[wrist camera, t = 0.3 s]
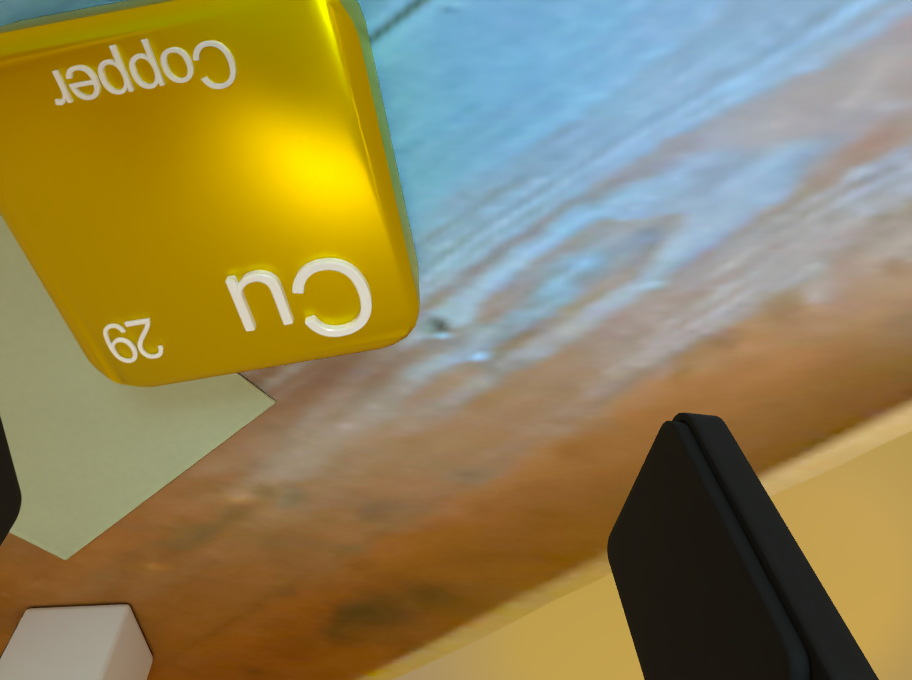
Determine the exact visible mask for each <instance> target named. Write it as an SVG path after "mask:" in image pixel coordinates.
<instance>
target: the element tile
mask: <svg viewBox="0 0 912 680" xmlns="http://www.w3.org/2000/svg"><path fill="white" fill-rule="evenodd" d="M0 215H1V216H2V218H3V219H4V221H5V223H6V224H7V226H8V228H9V229H10V231H11V233H12V234H13V236H14V238H15V239H16V241H17V243H18V244H19V246H20V248H21V249H22V251H23V253H24V254H25V256H26V258H27V259H28V261H29V263H30V264H31V266H32V268H33V269H34V271H35V273H36V274H37V276H38V278H39V279H40V281H41V283H42V284H43V286H44V288H45V289H46V291H47V293H48V294H49V296H50V298H51V299H52V301H53V303H54V304H55V306H56V308H57V309H58V311H59V313H60V314H61V316H62V318H63V319H64V321H65V323H66V324H67V326H68V328H69V329H70V331H71V333H72V334H73V336H74V337H75V339H76V341H77V342H78V344H79V346H80V347H81V349H82V351H83V352H84V354H85V356H86V357H87V359H88V361H89V362H90V363H91V364H92V365H93V366H94V367H95V368H96V369H97V370H98V371H100V372H101V373H102V374H103V375H105V376H106V377H107V378H108V379H111V380H112V381H113V382H115V383H119V384H122V385H127V386H134V387H157V386H162V385H168V384H174V383H180V382H186V381H192V380H198V379H204V378H210V377H216V376H222V375H228V374H233V373H239V372H245V371H251V370H257V369H263V368H269V367H275V366H281V365H287V364H293V363H298V362H304V361H310V360H316V359H322V358H328V357H334V356H340V355H346V354H352V353H358V352H364V351H369V350H375V349H380V348H384V347H387V346H390V345H393V344H395V343H397V342H399V341H400V340H402V339H404V338H406V337H407V336H408V334H409V333H410V332H411V331H412V329H413V328H414V327H415V325H416V322H417V318H418V314H419V307H420V298H419V274H418V262H417V257H416V253H415V248H414V244H413V239H412V234H411V230H410V225H409V220H408V216H407V211H406V207H405V202H404V197H403V193H402V188H401V183H400V179H399V174H398V169H397V165H396V160H395V156H394V151H393V146H392V142H391V137H390V132H389V128H388V123H387V119H386V114H385V109H384V105H383V100H382V95H381V91H380V86H379V82H378V77H377V72H376V68H375V63H374V58H373V54H372V49H371V45H370V40H369V35H368V31H367V26H366V21H365V19H364V16H363V13H362V11H361V8H360V5H359V4H358V2H357V1H356V0H126V1H121V2H116V3H110V4H105V5H100V6H95V7H89V8H84V9H79V10H74V11H68V12H63V13H58V14H53V15H47V16H42V17H37V18H31V19H26V20H21V21H16V22H13V23H10V24H7V25H4V26H1V27H0Z"/></svg>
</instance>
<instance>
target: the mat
mask: <svg viewBox="0 0 912 680" xmlns="http://www.w3.org/2000/svg"><path fill="white" fill-rule="evenodd" d="M275 403H276V401H275V400H273V399H272V398H271V397H269V396H268V395H267V394H265V393H264V392H263V391H261V390H260V389H259V388H257V387H256V386H255V385H253V384H252V383H251V382H249V381H248V380H247V379H245V378H244V377H243V376H241V375H240V374H239V373H233V374H228V375H222V376H216V377H210V378H204V379H198V380H192V381H186V382H180V383H174V384H168V385H162V386H157V387H134V386H127V385H122V384H119V383H115V382H113V381H112V380H111V379H108V378H107V377H106V376H105V375H103V374H102V373H101V372H100V371H98V370H97V369H96V368H95V367H94V366H93V365H92V364H91V363H90V362H89V361H88V359H87V357H86V356H85V354H84V352H83V351H82V349H81V347H80V346H79V344H78V342H77V341H76V339H75V337H74V336H73V334H72V333H71V331H70V329H69V328H68V326H67V324H66V323H65V321H64V319H63V318H62V316H61V314H60V313H59V311H58V309H57V308H56V306H55V304H54V303H53V301H52V299H51V298H50V296H49V294H48V293H47V291H46V289H45V288H44V286H43V284H42V283H41V281H40V279H39V278H38V276H37V274H36V273H35V271H34V269H33V268H32V266H31V264H30V263H29V261H28V259H27V258H26V256H25V254H24V253H23V251H22V249H21V248H20V246H19V244H18V243H17V241H16V239H15V238H14V236H13V234H12V233H11V231H10V229H9V228H8V226H7V224H6V223H5V221H4V219H3V218H2V216H1V215H0V417H1V420H2V424H3V428H4V431H5V435H6V439H7V442H8V446H9V450H10V453H11V457H12V461H13V464H14V468H15V472H16V475H17V479H18V483H19V487H20V490H21V496H22V501H21V508H20V512H19V514H18V517H17V519H16V521H15V523H14V524H13V526H12V528H11V529H10V531H9V532H10V533H12V534H14V535H16V536H18V537H20V538H22V539H24V540H26V541H28V542H30V543H32V544H34V545H36V546H38V547H40V548H42V549H44V550H46V551H48V552H50V553H52V554H54V555H56V556H58V557H60V558H62V559H64V560H67V559H68V558H69V557H71V556H72V555H73V554H75V553H76V552H77V551H79V550H80V549H81V548H83V547H84V546H85V545H87V544H88V543H89V542H91V541H92V540H93V539H95V538H96V537H97V536H99V535H100V534H101V533H103V532H104V531H105V530H107V529H108V528H109V527H111V526H112V525H113V524H115V523H116V522H117V521H119V520H120V519H121V518H123V517H124V516H125V515H127V514H128V513H129V512H131V511H132V510H133V509H135V508H136V507H137V506H139V505H140V504H141V503H143V502H144V501H145V500H147V499H148V498H149V497H151V496H152V495H153V494H155V493H156V492H157V491H159V490H160V489H161V488H163V487H164V486H165V485H167V484H168V483H169V482H171V481H172V480H173V479H175V478H176V477H177V476H179V475H180V474H181V473H183V472H184V471H185V470H187V469H188V468H189V467H191V466H192V465H193V464H195V463H196V462H197V461H199V460H200V459H201V458H203V457H204V456H205V455H207V454H208V453H209V452H211V451H212V450H213V449H215V448H216V447H217V446H219V445H220V444H221V443H223V442H224V441H225V440H227V439H228V438H229V437H231V436H232V435H233V434H235V433H236V432H237V431H239V430H240V429H241V428H243V427H244V426H245V425H247V424H248V423H249V422H251V421H252V420H253V419H255V418H256V417H257V416H259V415H260V414H261V413H263V412H264V411H265V410H267V409H268V408H269V407H271V406H272V405H273V404H275Z"/></svg>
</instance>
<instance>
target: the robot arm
mask: <svg viewBox="0 0 912 680" xmlns="http://www.w3.org/2000/svg"><path fill="white" fill-rule="evenodd" d="M21 501H22V496H21V490H20V487H19V483H18V479H17V475H16V472H15V468H14V464H13V461H12V457H11V453H10V450H9V446H8V442H7V439H6V435H5V431H4V428H3V424H2V420H1V417H0V545H1V544H2V542H3V541H4V539H5V537H6V536H7V534H8V533H9V531H10V529H11V528H12V526H13V524H14V523H15V521H16V519H17V517H18V514H19V512H20V508H21ZM607 551H608V559H609V563H610V566H611V570H612V573H613V576H614V579H615V583H616V586H617V589H618V592H619V596H620V599H621V602H622V606H623V609H624V613H625V616H626V619H627V623H628V626H629V629H630V632H631V636H632V639H633V642H634V646H635V649H636V652H637V656H638V659H639V662H640V665H641V669H642V672H643V676H644V679H645V680H879V679H878V678H877V676H876V674H875V673H874V671H873V670H872V668H871V666H870V664H869V663H868V661H867V659H866V658H865V656H864V654H863V653H862V651H861V649H860V648H859V646H858V644H857V643H856V641H855V639H854V638H853V636H852V634H851V633H850V631H849V629H848V627H847V626H846V624H845V622H844V621H843V619H842V617H841V616H840V614H839V613H838V611H837V609H836V607H835V606H834V604H833V602H832V601H831V599H830V597H829V596H828V594H827V593H826V591H825V589H824V588H823V586H822V584H821V582H820V581H819V579H818V577H817V576H816V574H815V572H814V571H813V569H812V567H811V566H810V564H809V562H808V561H807V559H806V557H805V556H804V554H803V553H802V551H801V549H800V547H799V546H798V544H797V543H796V541H795V539H794V537H793V536H792V534H791V532H790V531H789V529H788V527H787V526H786V524H785V522H784V521H783V519H782V517H781V516H780V514H779V512H778V511H777V509H776V507H775V506H774V504H773V502H772V501H771V499H770V497H769V496H768V494H767V492H766V491H765V489H764V487H763V486H762V484H761V482H760V481H759V479H758V477H757V476H756V474H755V472H754V471H753V469H752V467H751V466H750V464H749V462H748V461H747V459H746V457H745V456H744V454H743V452H742V451H741V449H740V447H739V446H738V444H737V442H736V441H735V439H734V437H733V436H732V434H731V432H730V431H729V429H728V427H727V426H726V424H725V422H724V421H723V420H722V419H721V418H719V417H717V416H711V415H702V414H692V413H679V414H677V415H676V416H675V417H674V419H673V420H672V421H666V422H665V423H663V425H662V426H661V428H660V430H659V432H658V434H657V436H656V439H655V441H654V443H653V445H652V447H651V449H650V451H649V453H648V455H647V458H646V460H645V462H644V464H643V466H642V468H641V470H640V472H639V474H638V477H637V479H636V481H635V483H634V485H633V487H632V489H631V491H630V493H629V496H628V498H627V500H626V502H625V504H624V506H623V508H622V510H621V512H620V515H619V517H618V519H617V521H616V523H615V525H614V527H613V529H612V531H611V534H610V536H609V539H608V548H607Z"/></svg>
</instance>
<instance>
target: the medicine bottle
mask: <svg viewBox="0 0 912 680" xmlns="http://www.w3.org/2000/svg"><path fill="white" fill-rule="evenodd" d="M152 662H153V656H152V654H151V652H150V650H149V647H148V645H147V643H146V641H145V639H144V636H143V634H142V632H141V630H140V628H139V625H138V623H137V621H136V619H135V616H134V614H133V612H132V610H131V608H130V606H129V605H127V604H118V605H96V606H73V607H50V608H30V609H27V610H26V611H25V612H24V614H23V615H22V617H21V619H20V621H19V623H18V625H17V627H16V629H15V630H14V632H13V634H12V636H11V638H10V640H9V642H8V644H7V646H6V647H5V649H4V651H3V653H2V655H1V657H0V680H147V677H148V674H149V671H150V668H151V665H152Z"/></svg>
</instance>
